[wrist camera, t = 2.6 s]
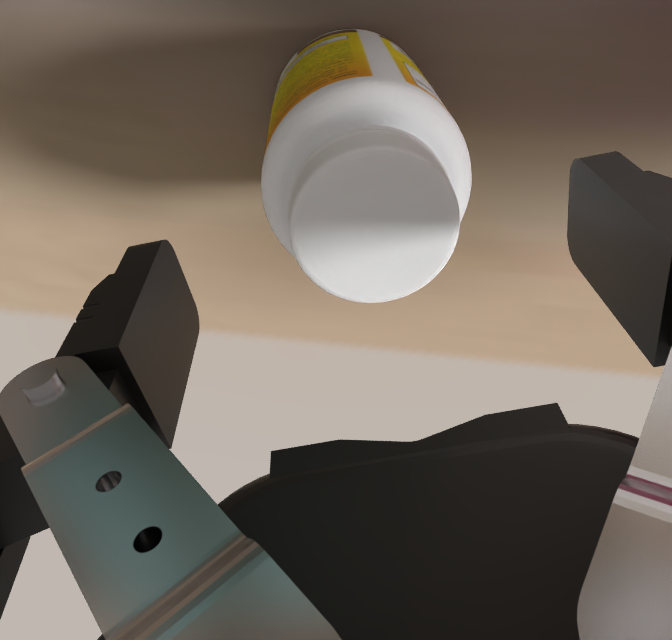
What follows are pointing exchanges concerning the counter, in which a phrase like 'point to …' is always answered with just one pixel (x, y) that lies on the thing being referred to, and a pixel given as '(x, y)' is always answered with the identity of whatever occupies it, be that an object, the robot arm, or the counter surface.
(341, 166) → the supplement bottle
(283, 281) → the counter surface
